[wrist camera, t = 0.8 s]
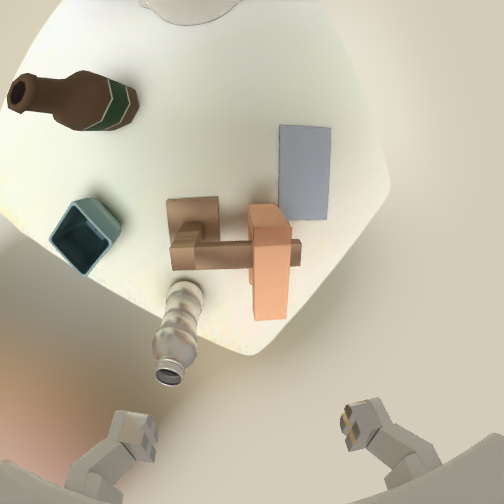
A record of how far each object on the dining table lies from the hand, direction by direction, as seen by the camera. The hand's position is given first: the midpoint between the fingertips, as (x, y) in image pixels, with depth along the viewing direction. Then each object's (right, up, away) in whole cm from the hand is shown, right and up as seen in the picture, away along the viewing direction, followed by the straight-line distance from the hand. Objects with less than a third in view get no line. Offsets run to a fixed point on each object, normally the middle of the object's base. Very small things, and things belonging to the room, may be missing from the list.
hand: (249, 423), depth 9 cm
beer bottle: (-21, +30, +25) cm, 44 cm away
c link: (+2, +8, +32) cm, 33 cm away
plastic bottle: (-12, 0, +39) cm, 40 cm away
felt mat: (+8, +19, +31) cm, 38 cm away
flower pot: (-26, +12, +32) cm, 43 cm away
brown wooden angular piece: (-4, +11, +34) cm, 36 cm away
